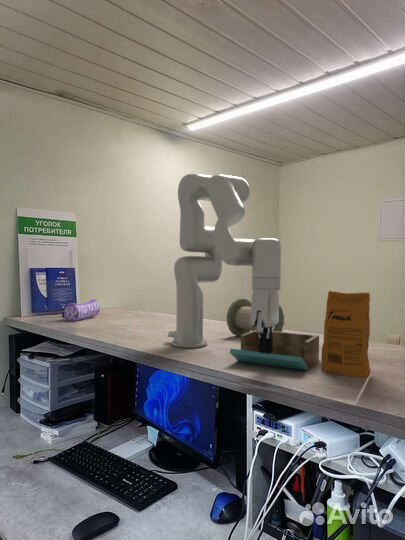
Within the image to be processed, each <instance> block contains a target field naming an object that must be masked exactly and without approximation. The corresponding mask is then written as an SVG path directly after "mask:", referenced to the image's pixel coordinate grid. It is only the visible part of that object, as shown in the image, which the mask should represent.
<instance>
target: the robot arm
mask: <svg viewBox="0 0 405 540" xmlns="http://www.w3.org/2000/svg"><path fill="white" fill-rule="evenodd" d="M250 194H251V190H250V185H249V183H248V182H247V180H246V179H245V178H243V177H240V176H236V175H235V176H234V175H233V176H232V175H228V174H215V175H214V174H213V175H207V174H201V173H187V174H185V175H183V177H182V178H181V179H180V181H179V183H178V187H177V199H178V205H179V209H180V210H179V211H180V214H179V215H180V217H179V218H180V221H179V247H180V249H181V250H182V251H184V252H187V253H199V254H200V253H204V256H199V255H186V256H184V255H183V256H181V257H179V258H177V260H176V261H175V263H174V265H173V272H174V277H175V285H176V286H175V287H176V326H175V331H173V330H172V331H170V330H169V331H168V334H167V337H168V338H173V340H172V341H171V345H172V346H174V347H177V348H184V349H185V348H187V349H189V348H190V349H192V348H193V349H195V348H202V347H206V346H207V345H208V341H207V340H206V339H204V293H203V291H202V288H201V287H200V285H199V284H200V283H203V284H204V283H206V284H207V283H216V282H218V280H219V279H220V278H221V275H222V270H223V263H225V264H226V265H228V266H235V267H236V266H239V267H240V266H243V267H244V266H245V267H247V266H249V267H252V269H251V274H252V276H251V277H252V282H251V283H252V285H251V286H252V287H251V289H252V295H251V301H250V302H251V319H250V325H251V326H252V327H256V326H257V333H259V352H260V353H267V354H270V353H272V352H273V329H274V328H275V325H276V324H278V322H279V305H280V303H279V302H280V301H279V291H281V278H282V277H281V275H282V274H281V272H282V271H281V265H282V264H281V262H282V254H281V253H282V251H281V250H282V247H281V241H280V240H279V239H277V238H269V237H263V238H256V239H250V238H234V237H233V236H232V233H231V231H230V227H232V226H234V225H237V223H240V221H242V220H243V218H245V214H246V209H245V207H244V205H243V204H244V203H245V202H247V200H248V199H249V197H250ZM199 200H201V201H208V202H209V201H210V203H211V206H212V207H213V209H214V212H215V215H216V217H217V218H218V219H217V221H216V223H215V225H214V226H205V212H204V209H203V207H202V205H201V203H200V202H199Z"/></svg>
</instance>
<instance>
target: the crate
mask: <svg viewBox="0 0 405 540" xmlns="http://www.w3.org/2000/svg"><path fill="white" fill-rule="evenodd" d="M240 350H246V351H254V352H259V333H257V330H254V331H250V332H248V333H245V334H243V335H241V336H240ZM270 354H278V355H286V356H295V357H302V359H303V360H304V362H305V363H306V365H307V366H308V370H309V369H310V368H311V367H312V366H314V365H315V364H316V363H317V362H318V361H319V360H320V335H316V334H309V333H307V334H305V333H296V332H286V331H282V332H276V331H273V352H272V353H270Z"/></svg>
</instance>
